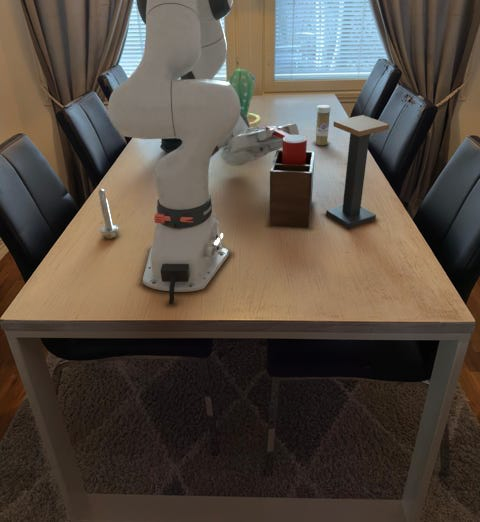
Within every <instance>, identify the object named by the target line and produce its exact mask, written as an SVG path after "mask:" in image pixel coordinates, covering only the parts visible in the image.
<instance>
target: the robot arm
mask: <svg viewBox="0 0 480 522" xmlns="http://www.w3.org/2000/svg"><path fill="white" fill-rule="evenodd" d="M233 2H234V1H233V0H136V8H137V11H138V14H139V16H140V18H141V20H142V22H143V24H144V25H145V39H144V40H145V41H144V50H143V54H142V57H141V60H140V62H139V63H138V66H136V68H135V70H134V71H133V72H132V74H131V75H129V77H128V78H127V79H125V80H124V81H123V82H122V83H120V84H118V85H117V86H116V87H115V88H114V89H113V90H112V92H111V94H110V96H109V99H108V103H107V112H108V117H109V121H110V123H111V125H112V126H113V128H114V129H115V130H116V132H117V133H118V134H119V135H121V136H122V137H127V138H132V139H137V140H138V139H139V140H161V139H168V138H177V139H181V140H182V144H181V146H180V147H179V148H177V149H176V150H174V151H172V152H170V153H166V154H165V155H164V156H162V157H161V158H160V159H159V160H158V162H157V163H156V166H155V170H154V175H155V183H156V184H155V185H156V191H157V201H156V213H154V215H153V216H154V217H153V222H154V223H155V227H154V233H153V238H152V245H151V246H150V249H149V254H148V257H147V261H146V264H145V269H144V273H143V277H142V284H143V285H144V286H146V287H148V288H150V289H154V290H156V291H157V290H158V291H163V292H168V296H169V297H168V298H169V299H168V303H169V305H172V304H174V302H175V293H188V292H189V293H191V292H196V291H202V290H204V289H205V288H206V287H207V286H208V285H209V283H210V282H211V280H212V279H213V278H214V276H215V275H216V274H217V272H218V271H219V269H220V268H221V267H222V265H223V264H224V263H225V261H226V260H227V259H228V257H229V255H230V253H229V249H227V248H226V247H224V246H223V242H222V240H223V237H224V233H222V232H221V226H220V222H219V221H218V219H217V218H215V217H214V215H213V201H212V196H211V194H210V193H209V192H210V190H209V171H210V170H209V169H210V168H209V167H210V161H211V158H213V156H214V155H216V154H217V153H218V152H219V151H220V150H221V154H220V155H221V158H222V160H223V162H225V163H226V164H227V165H229V166H232V167H242V166H244V165H247V164H249V163H251V162H253V161H256V160H258V159H260V158H262V157H264V156H266V155H268V154H270V153H272V152H275V151H277V150H281V149H282V147H283V139H281V138H279V137H277V136H275V132H274V131H275V130H274V129H269V130H267V131H266V127H267V126H257V127H250V125H249V122H248V120H247V118H246V117H245V115H244V114H243V112H242V111H241V110H240V100H239V97H238V95H237V93H236V91H235V89H234V88H233V87H232V86H231V85H230V84H229V83H228V81H222V80H216V79H214V78H215V77H216V75H217V74H218V73H219V72H220V71H221V69H223V66H224V64H225V62H226V60H227V55H228V46H227V45H228V44H227V40H226V35H225V31H224V27H223V24H222V19H223V18H225V17H227V16H228V15H229V14H230V12H231V11H232V8H233ZM272 126H273V125H272ZM273 127H275V128H277V129H279V130H281V131H283V132H286V133H288V134H290V135H300V132H299V128H298V125H297V124H296V123H295V122H294V123H288V124H284V125H280V126H278V125H274V126H273Z"/></svg>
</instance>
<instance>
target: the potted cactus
mask: <svg viewBox="0 0 480 522" xmlns="http://www.w3.org/2000/svg"><path fill="white" fill-rule="evenodd" d="M227 82H228V83H229V84H230V85H231V86H232V87H233V88H234V89H235V91H236V93H237V95H238V97H239V100H240V110H241V111H242V112H243V114H244V115H245V117H246V118H247V120H248V122H249V125H250V127H259V125H260V124H261V120H262V119H261V117H260V115H259V114H255V113H251V112H249V109H250V105H251V101H252V98H253V96H254V89H255V82H256V78H255V77H254V74H253V73H252V72H250V71H249V70H248V69H246V68H245V67H244V68H243V67H242V68H240V67H238V68H237V69H236V68H234V70H233V71H232V73H230V76H229V77H228V80H227Z"/></svg>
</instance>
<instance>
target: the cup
mask: <svg viewBox="0 0 480 522" xmlns="http://www.w3.org/2000/svg"><path fill="white" fill-rule="evenodd" d="M265 127H266V131H267V130H269V129H274V130H275V131H274V132H275V136H277V137H279V138H281V139H283V147H282V148H281V149H282V164H298V165H306V151H307V146H308V138H307V137H306V136H305V135H301V134H299V135H290V134H288V133H286V132H283V131H281V130H279V129H277V128H275V127H273V125H267V126H265Z"/></svg>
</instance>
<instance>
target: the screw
mask: <svg viewBox="0 0 480 522" xmlns="http://www.w3.org/2000/svg"><path fill="white" fill-rule="evenodd" d="M105 192H106V191H105V189H103V188H100V189H99V190H98V196H99V205H100V209H101V214H102V218H103V224H104V225H102V226H100V228H99V230H98V231H99V234H101V235H104V236H105V239H113V238H115V237H117V234H116V233H118V232H119V231H120V226H119V225H118V224H116V223H113V221H112V216H111V211H110V206H109V203H108V199H107V198H106V193H105Z"/></svg>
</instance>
